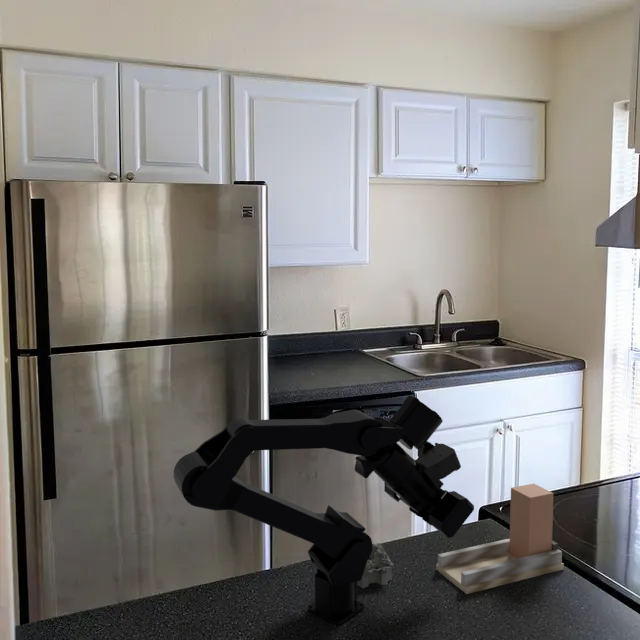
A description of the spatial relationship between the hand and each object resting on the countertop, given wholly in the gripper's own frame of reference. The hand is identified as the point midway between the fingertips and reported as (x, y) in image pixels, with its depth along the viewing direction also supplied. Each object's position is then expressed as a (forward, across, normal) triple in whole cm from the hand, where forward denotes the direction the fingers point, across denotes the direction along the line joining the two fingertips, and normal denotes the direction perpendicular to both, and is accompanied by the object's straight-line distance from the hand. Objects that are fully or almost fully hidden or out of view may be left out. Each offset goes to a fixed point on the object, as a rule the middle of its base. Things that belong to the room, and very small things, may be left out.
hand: (455, 527), depth 110 cm
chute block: (+17, 0, -6) cm, 18 cm away
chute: (+13, 0, 0) cm, 13 cm away
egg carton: (-1, +9, +16) cm, 18 cm away
